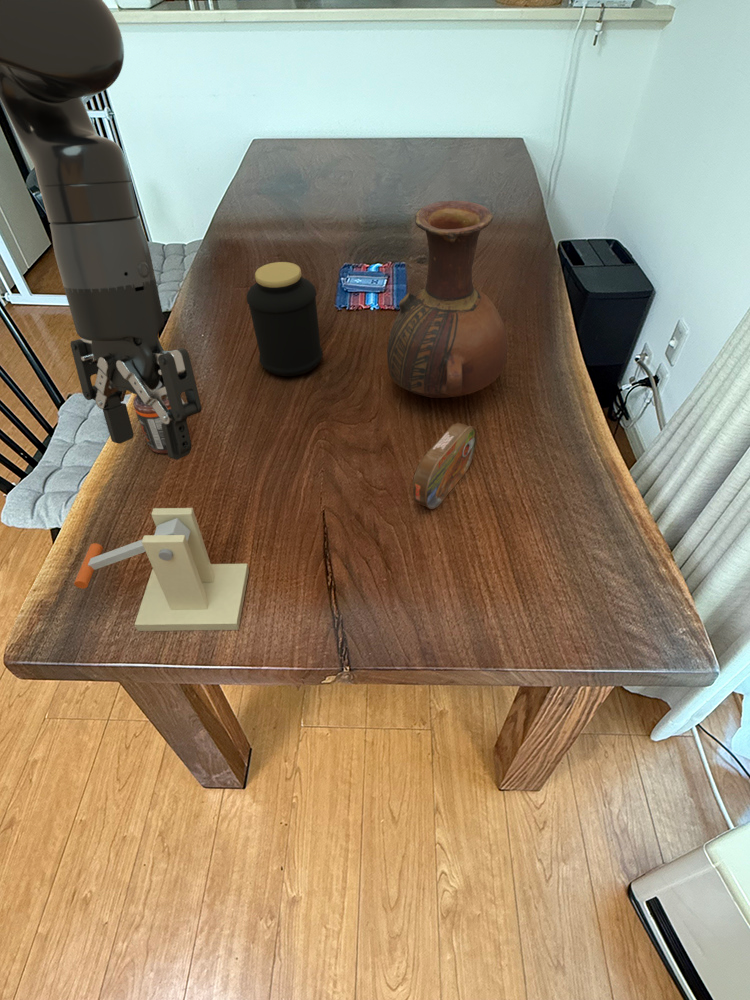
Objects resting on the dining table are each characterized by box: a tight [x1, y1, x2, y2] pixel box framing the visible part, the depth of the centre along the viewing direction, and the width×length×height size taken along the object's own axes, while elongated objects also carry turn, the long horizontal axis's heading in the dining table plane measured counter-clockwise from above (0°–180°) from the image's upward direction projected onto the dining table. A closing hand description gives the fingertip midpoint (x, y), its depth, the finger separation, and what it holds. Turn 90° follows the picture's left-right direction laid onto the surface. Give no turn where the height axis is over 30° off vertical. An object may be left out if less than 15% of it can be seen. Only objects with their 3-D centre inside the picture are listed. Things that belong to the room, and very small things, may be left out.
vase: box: [386, 200, 508, 399], centre depth 95 cm, size 25×20×30 cm
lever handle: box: [73, 518, 191, 589], centre depth 67 cm, size 14×6×2 cm, turn 91°
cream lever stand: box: [134, 507, 250, 632], centre depth 69 cm, size 12×9×14 cm
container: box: [246, 261, 324, 377], centre depth 105 cm, size 12×12×18 cm
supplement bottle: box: [132, 381, 171, 454], centre depth 92 cm, size 6×6×11 cm
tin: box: [412, 422, 478, 510], centre depth 85 cm, size 15×3×8 cm, turn 146°
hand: (151, 448), depth 60 cm, fingers open, 8 cm apart
